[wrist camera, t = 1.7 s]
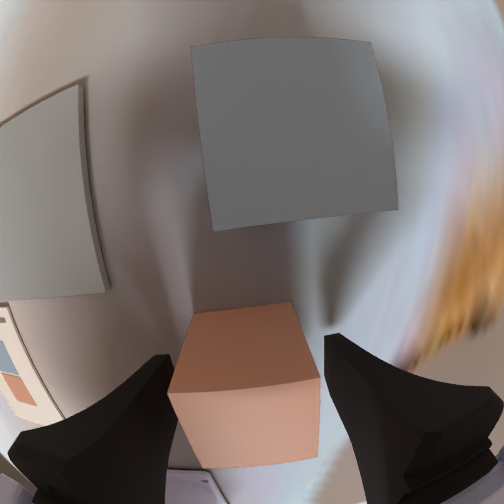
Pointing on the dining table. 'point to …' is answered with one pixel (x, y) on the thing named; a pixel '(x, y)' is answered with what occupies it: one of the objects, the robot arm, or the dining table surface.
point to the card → (22, 377)
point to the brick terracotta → (247, 388)
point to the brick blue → (292, 130)
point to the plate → (48, 204)
